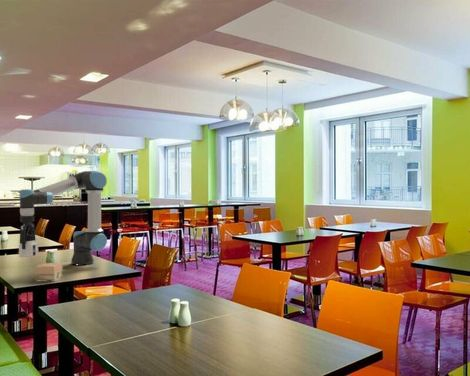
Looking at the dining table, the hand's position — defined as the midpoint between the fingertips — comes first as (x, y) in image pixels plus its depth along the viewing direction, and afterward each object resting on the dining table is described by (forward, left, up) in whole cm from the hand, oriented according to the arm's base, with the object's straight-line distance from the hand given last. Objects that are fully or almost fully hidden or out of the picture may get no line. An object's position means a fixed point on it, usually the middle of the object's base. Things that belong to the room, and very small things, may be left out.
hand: (28, 253), depth 263 cm
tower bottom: (+3, +14, -15) cm, 21 cm away
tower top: (+3, +14, -11) cm, 18 cm away
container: (0, 0, -2) cm, 2 cm away
